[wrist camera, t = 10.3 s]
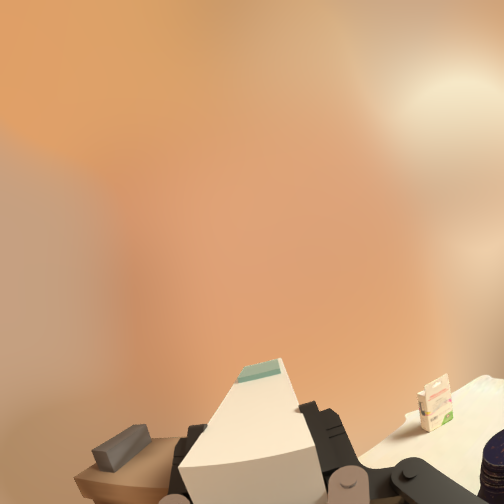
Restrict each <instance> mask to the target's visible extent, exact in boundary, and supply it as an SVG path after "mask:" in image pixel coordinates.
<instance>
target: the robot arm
mask: <svg viewBox="0 0 504 504" xmlns="http://www.w3.org/2000/svg"><path fill="white" fill-rule="evenodd" d="M298 407H299V410H300V413H303V416H304V418H305V421H306V424H307V426H308V429H309V431H310V434H311V436H312V439H313V441H314V444H315V447H316V451H317V455H318V459H319V464H320V468H321V472H322V476H323V480H324V484H325V489H326V493H327V494H328V504H489V503H487V502H486V501H484V500H482V499H481V498H479V497H478V496H476V495H474V494H473V493H471V492H470V491H468V490H467V489H465V488H464V487H462V486H460V485H459V484H457V483H456V482H454V481H453V480H451V479H450V478H449V477H447V476H446V475H444V474H443V473H441V472H440V471H438V470H437V469H435V468H434V467H433V466H431V465H430V464H428V463H427V462H426V461H424V460H423V459H420V458H416V457H411V458H406V459H404V460H402V461H400V462H399V463H398V464H397V465H396V466H395V467H389V468H382V469H371V468H367V467H365V466H363V465H362V464H361V463H360V462H359V461H358V459H357V456H356V454H355V452H354V449H353V447H352V445H351V443H350V440H349V438H348V436H347V434H346V431H345V429H344V427H343V425H342V422H341V420H340V417H339V415H338V414H337V413H335V412H334V411H333V410H332V409H330V408H329V409H326V410H323V411H320V412H319V410H318V407H317V405H316V402H315V401H312V402H309V403H305V404H302V405H298ZM207 426H208V425H207V424H200V425H192V426H189V428H188V434H187V437H184V438H180V439H179V441H178V442H177V444H176V446H175V448H174V455H173V457H174V458H173V461H172V465H173V466H172V468H171V475H170V482H169V489H168V494H167V496H165V497H163V498H162V499H161V500H160V501H159V503H158V504H193V502H192V499H191V497H190V495H189V493H188V491H187V488H186V486H185V484H184V481H183V479H182V477H181V474H180V472H179V469H178V466H179V465H180V464H181V462H182V461H183V459H184V458H185V457H186V455H187V454H188V452H189V451H190V449H191V448H192V446H193V445H194V444H195V442H196V441H197V439H198V438H199V436H200V435H201V433H203V432H204V431H205V429H206V428H207Z"/></svg>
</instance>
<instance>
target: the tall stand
mask: <svg viewBox="0 0 504 504" xmlns="http://www.w3.org/2000/svg"><path fill="white" fill-rule="evenodd" d="M180 438H184V437H173V438H155V439H154V438H152V439H151V438H150V435H149V432H148V429H147V426H146V424H141V425H132V426H131V427H129V428H128V429H126V430H124V431H123V432H121V433H120V434H118V435H116V436H115V437H113V438H111V439H110V440H108V441H106V442H105V443H103V444H101V445H100V446H98V447H96V448H94V449H93V450H92V453H93V455H94V458H95V460H96V463H95V464H94V465H92V466H91V467H89V468H88V469H86V470H84V471H83V472H81V473H80V474H78V475H77V476H75V477H74V480H75V482H76V484H77V486H78V488H79V490H80V492H81V494H82V496H83V497H84V498H89V499H93V501H94V503H95V504H158V503H159V501H160V500H161V499H162V498H163V497H165V496H167V494H168V489H169V482H170V475H171V468H172V466H173V465H172V461H173V458H174V457H173V455H174V448H175V446H176V444H177V442H178V441H179V439H180ZM327 497H328V494H327Z"/></svg>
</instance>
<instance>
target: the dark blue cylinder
mask: <svg viewBox="0 0 504 504" xmlns="http://www.w3.org/2000/svg"><path fill="white" fill-rule="evenodd" d="M480 483H481V486H480V490H479V492H478V495H477V496H478V497H479V498H481V499H482V500H484V501H486V502H487V503H489V504H504V429H503V430H502V431H500V432H498V433H497V434H495V435H494V436H493V437H492V438H491V439H490V440H489V441H488V442H487V443H486V445H485V447H484V449H483V459H482V464H481V473H480Z"/></svg>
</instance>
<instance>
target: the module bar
mask: <svg viewBox="0 0 504 504" xmlns="http://www.w3.org/2000/svg"><path fill="white" fill-rule="evenodd" d="M298 405H299V403H298V400H297V398H296V395H295V393H294V390H293V388H292V385H291V382H290V380H289V377H288V374H287V372H286V369H285V367H284V364H283V361H282V359H281V358H278V359H275V360H271V361H267V362H263V363H258V364H254V365H250V366H246V367H244V368H243V370H242V372H241V373H240V375H239V376H238V378H237V380H236V381H235V383H234V384H233V386H232V388H231V389H230V391H229V392H228V394H227V396H226V397H225V398H224V400H223V402H222V403H221V405H220V406H219V408H218V409H217V411H216V412H215V414H214V415H213V417H212V419H211V420H210V421H209V423H208V424H207V425H208V426H207V428H206V429H205V431H204V432H203V433H201V435H200V436H199V438H198V439H197V441H196V442H195V444H194V445H193V446H192V448H191V449H190V451H189V452H188V454H187V455H186V457H185V458H184V459H183V461H182V462H181V464H180V465H179V466H178V469H179V472H180V474H181V477H182V479H183V481H184V484H185V486H186V488H187V491H188V493H189V495H190V497H191V499H192V502H193V504H328V497H327V493H326V489H325V484H324V480H323V476H322V472H321V468H320V464H319V459H318V455H317V451H316V447H315V444H314V441H313V439H312V436H311V434H310V431H309V429H308V426H307V424H306V421H305V418H304V416H303V413H300V410H299V407H298Z"/></svg>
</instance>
